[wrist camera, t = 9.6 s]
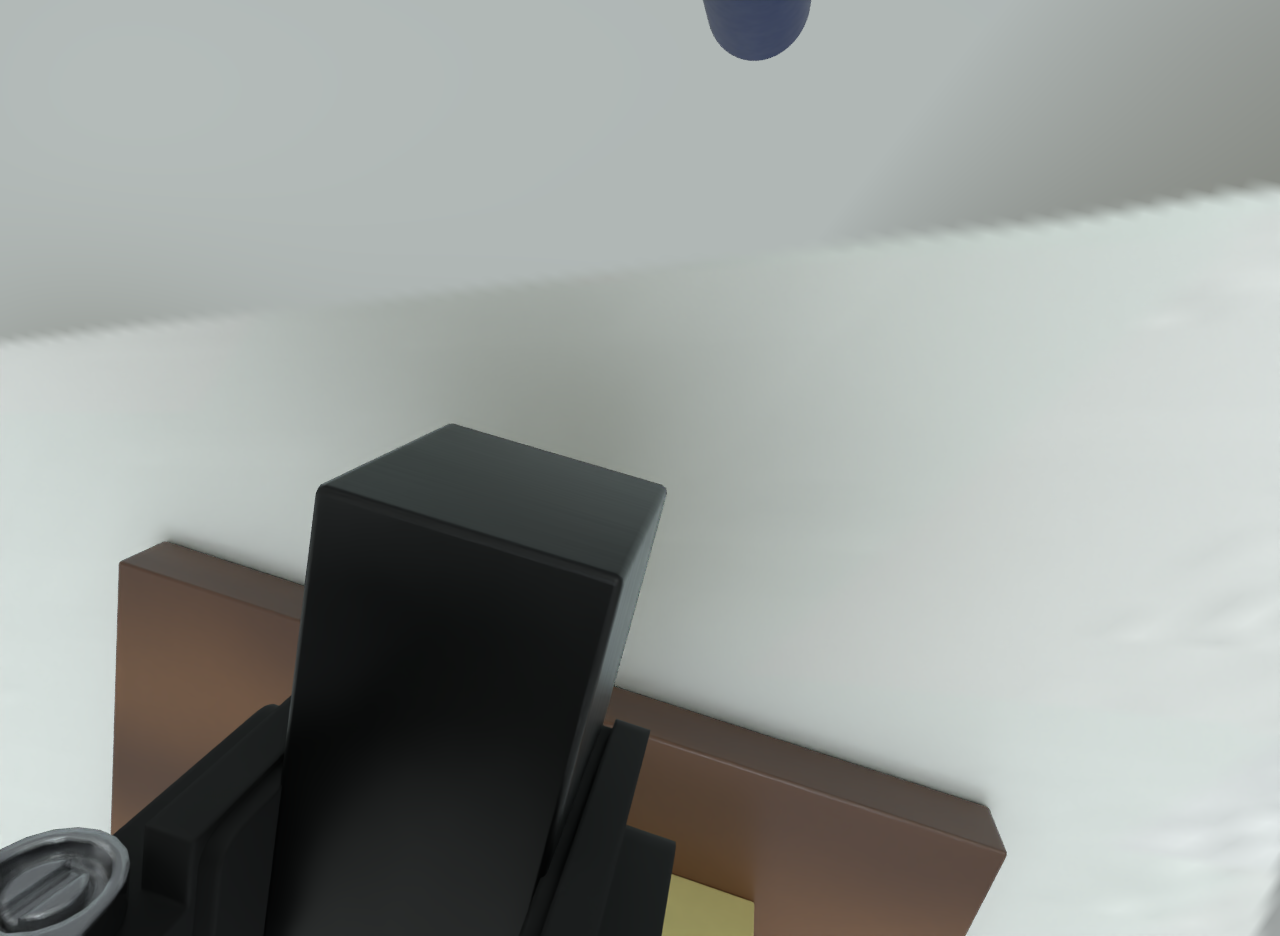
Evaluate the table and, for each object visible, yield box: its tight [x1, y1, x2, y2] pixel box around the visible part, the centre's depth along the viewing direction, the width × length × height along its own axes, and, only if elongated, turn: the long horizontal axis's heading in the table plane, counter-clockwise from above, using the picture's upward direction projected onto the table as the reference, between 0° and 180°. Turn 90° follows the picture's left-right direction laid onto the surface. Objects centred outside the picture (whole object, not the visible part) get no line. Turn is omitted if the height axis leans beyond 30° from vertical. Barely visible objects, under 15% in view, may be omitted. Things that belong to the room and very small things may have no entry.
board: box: [111, 542, 1007, 936], centre depth 20 cm, size 14×22×2 cm, turn 76°
